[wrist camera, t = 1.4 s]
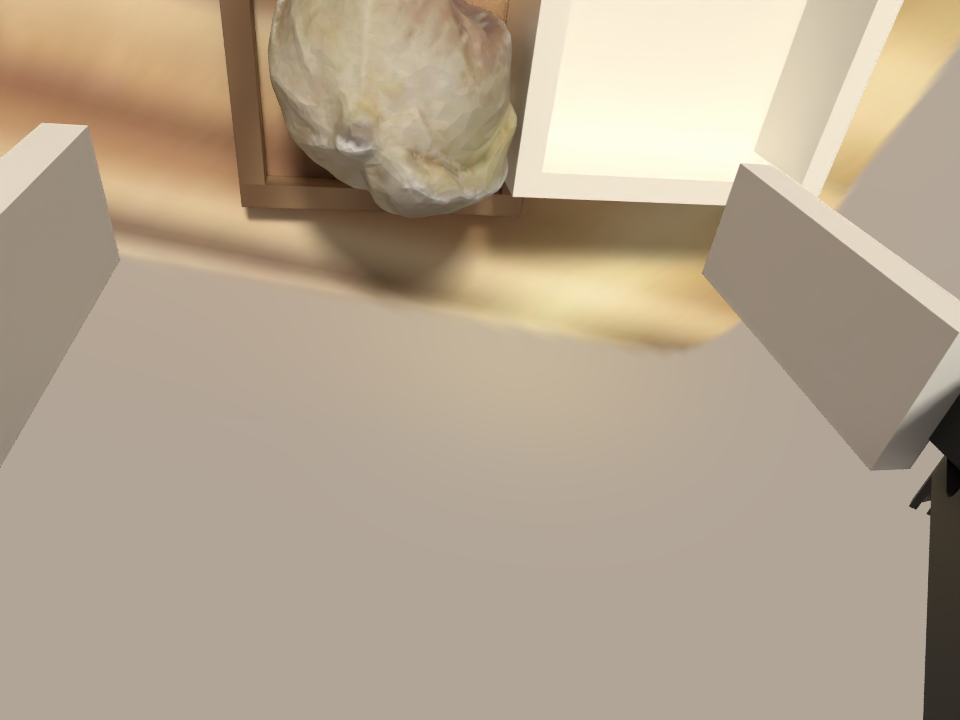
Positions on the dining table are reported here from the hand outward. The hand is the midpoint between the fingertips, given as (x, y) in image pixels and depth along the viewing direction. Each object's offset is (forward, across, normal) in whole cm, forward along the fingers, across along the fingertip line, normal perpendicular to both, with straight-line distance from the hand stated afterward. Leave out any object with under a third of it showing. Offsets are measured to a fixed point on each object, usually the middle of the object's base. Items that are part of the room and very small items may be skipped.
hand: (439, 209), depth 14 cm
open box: (+15, +11, +3) cm, 19 cm away
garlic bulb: (+15, 0, 0) cm, 15 cm away
